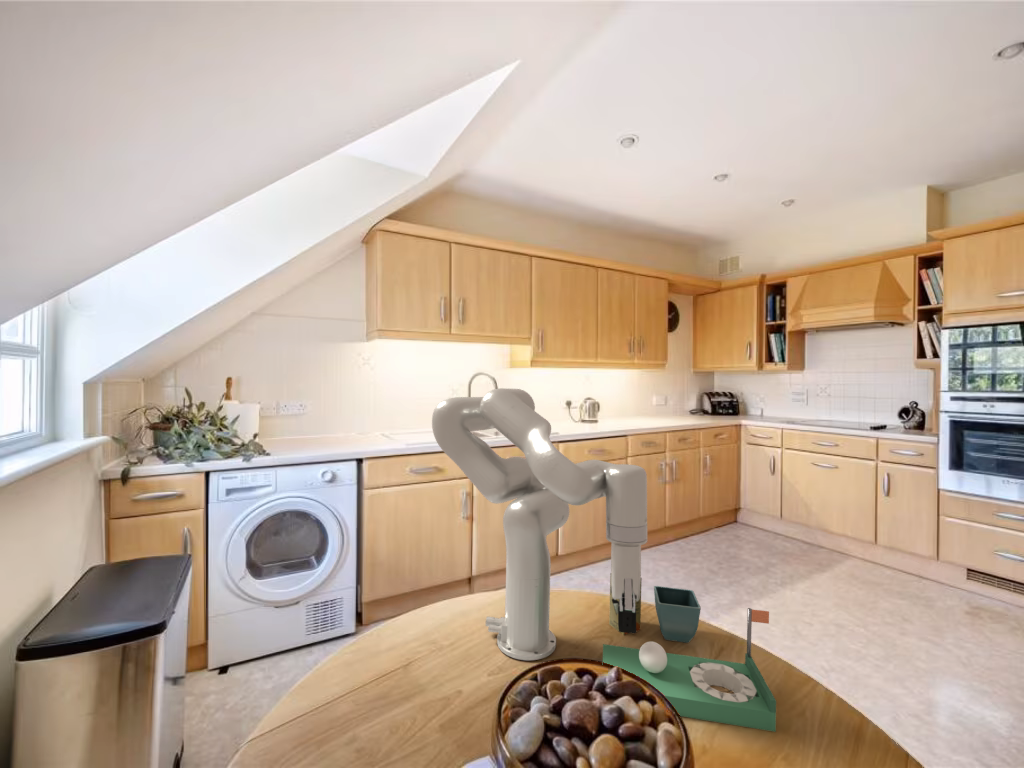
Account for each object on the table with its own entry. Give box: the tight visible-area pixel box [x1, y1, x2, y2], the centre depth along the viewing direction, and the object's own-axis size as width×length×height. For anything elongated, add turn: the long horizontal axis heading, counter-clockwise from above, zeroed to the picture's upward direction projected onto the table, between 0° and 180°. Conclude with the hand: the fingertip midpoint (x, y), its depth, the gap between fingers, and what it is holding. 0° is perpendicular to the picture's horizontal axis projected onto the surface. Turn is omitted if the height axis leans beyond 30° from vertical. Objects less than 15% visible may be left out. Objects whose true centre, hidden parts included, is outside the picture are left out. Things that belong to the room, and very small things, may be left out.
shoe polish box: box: [608, 572, 643, 636], centre depth 102 cm, size 5×5×12 cm
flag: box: [746, 607, 770, 667], centre depth 83 cm, size 4×1×14 cm, turn 78°
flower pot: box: [653, 585, 701, 644], centre depth 99 cm, size 9×9×9 cm
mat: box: [602, 643, 777, 733], centre depth 81 cm, size 28×13×5 cm, turn 78°
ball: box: [639, 641, 667, 673], centre depth 82 cm, size 5×5×5 cm
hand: (627, 630), depth 82 cm, fingers closed
